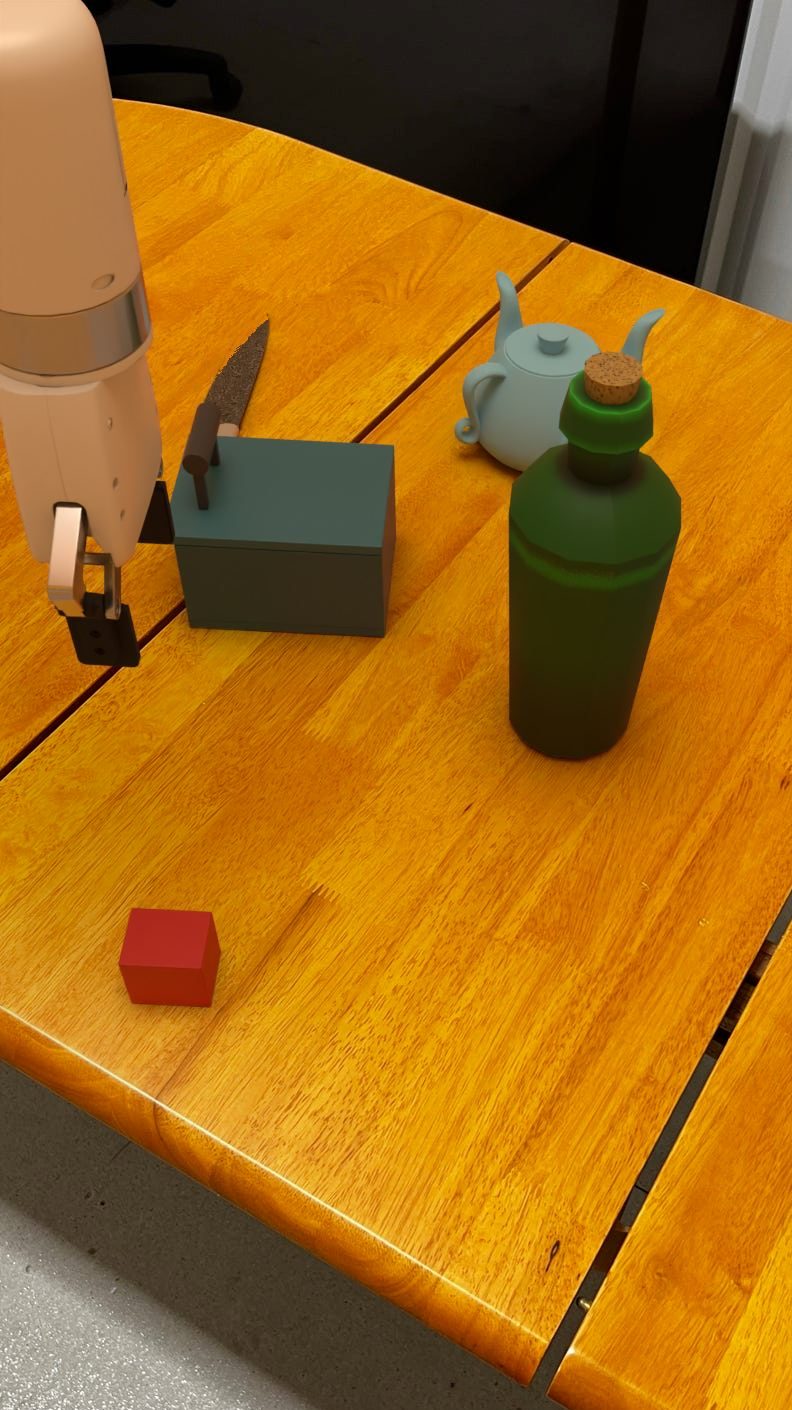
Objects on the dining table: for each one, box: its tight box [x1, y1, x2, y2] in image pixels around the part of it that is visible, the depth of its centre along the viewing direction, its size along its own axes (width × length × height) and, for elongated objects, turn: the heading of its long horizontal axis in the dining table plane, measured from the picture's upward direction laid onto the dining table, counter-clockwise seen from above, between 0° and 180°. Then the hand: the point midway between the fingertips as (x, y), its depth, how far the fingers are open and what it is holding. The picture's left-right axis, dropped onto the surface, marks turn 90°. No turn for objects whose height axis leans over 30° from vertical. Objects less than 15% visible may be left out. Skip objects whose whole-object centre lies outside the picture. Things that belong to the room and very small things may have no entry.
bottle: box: [508, 350, 682, 759], centre depth 83 cm, size 11×11×28 cm
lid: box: [169, 401, 395, 555], centre depth 93 cm, size 15×12×6 cm
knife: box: [203, 319, 270, 437], centre depth 114 cm, size 32×4×1 cm, turn 175°
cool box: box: [173, 455, 397, 638], centre depth 98 cm, size 15×12×8 cm
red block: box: [117, 907, 222, 1008], centre depth 78 cm, size 5×4×4 cm
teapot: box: [453, 270, 666, 473], centre depth 109 cm, size 15×15×10 cm
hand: (129, 598), depth 72 cm, fingers open, 9 cm apart
